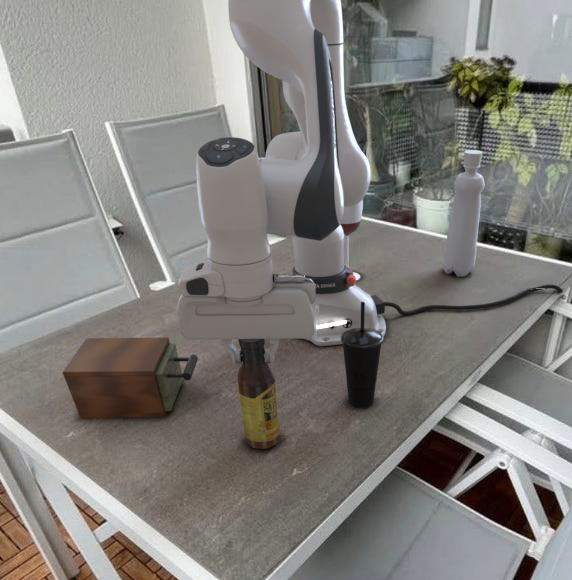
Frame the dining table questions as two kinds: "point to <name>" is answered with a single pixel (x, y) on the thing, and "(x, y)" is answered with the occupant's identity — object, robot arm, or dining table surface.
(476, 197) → the bottle
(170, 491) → the dining table surface
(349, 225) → the wineglass
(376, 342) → the drinking cup
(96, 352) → the cabinet
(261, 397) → the sauce bottle
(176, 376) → the drawer
